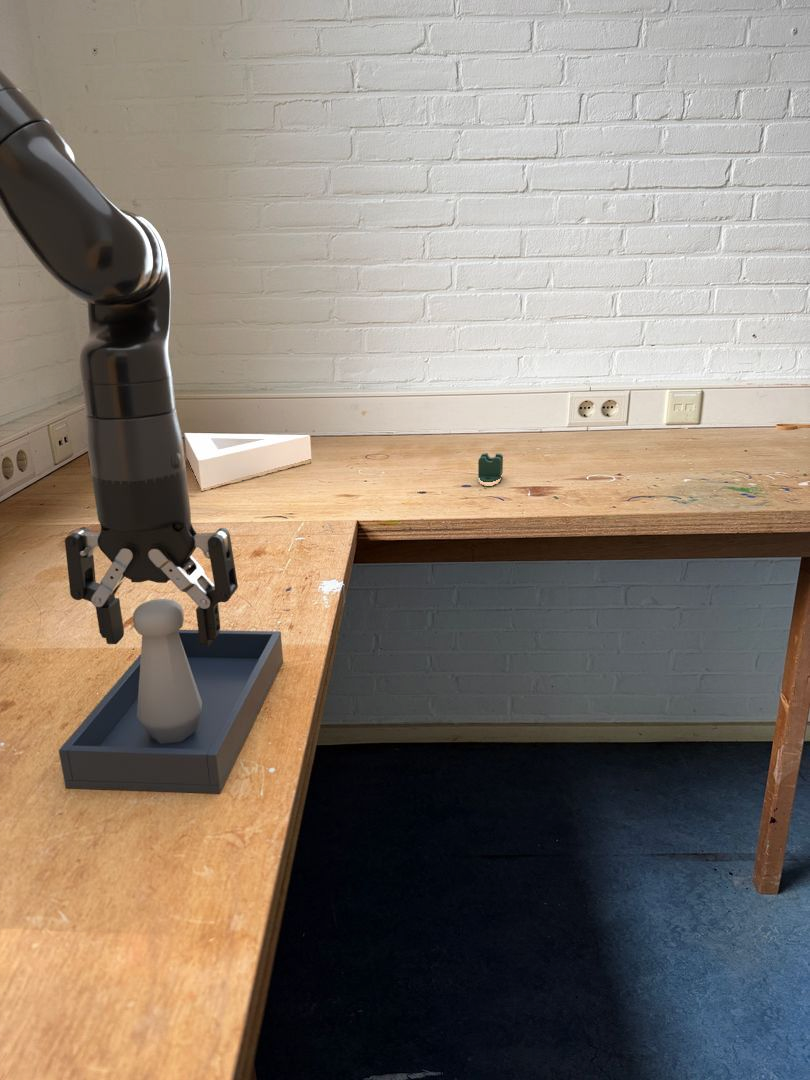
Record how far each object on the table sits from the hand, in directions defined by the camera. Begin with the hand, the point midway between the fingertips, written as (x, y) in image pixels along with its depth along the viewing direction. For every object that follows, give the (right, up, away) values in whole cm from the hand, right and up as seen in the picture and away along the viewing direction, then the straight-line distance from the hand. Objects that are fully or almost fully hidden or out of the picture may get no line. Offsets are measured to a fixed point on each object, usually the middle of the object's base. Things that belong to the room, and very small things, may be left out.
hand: (161, 641), depth 72 cm
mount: (+39, +21, +91) cm, 102 cm away
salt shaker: (0, -9, +3) cm, 10 cm away
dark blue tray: (+1, -8, +7) cm, 11 cm away
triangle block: (-16, +23, +99) cm, 103 cm away
